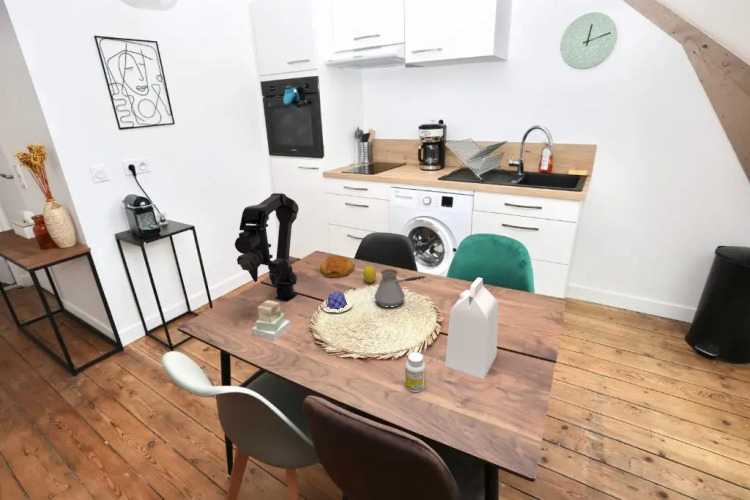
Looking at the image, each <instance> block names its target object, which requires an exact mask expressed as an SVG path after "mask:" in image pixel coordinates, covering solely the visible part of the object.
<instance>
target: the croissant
mask: <svg viewBox="0 0 750 500" xmlns="http://www.w3.org/2000/svg"><path fill="white" fill-rule="evenodd" d="M319 265H320V272H321V274H323V275H324V277H326V278H337V279H338V278H342V277H348V276H349V275H350V274H351V272H353V271H354V269H355V263H354V262H353V261H352V260H351V259H350V258H348V257H346V256H342V255H336V256H335V255H334V256H328V257H327V258H325V260H323V261H322V262H321V263H320V264H319Z"/></svg>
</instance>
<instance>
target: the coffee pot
mask: <svg viewBox="0 0 750 500" xmlns="http://www.w3.org/2000/svg"><path fill="white" fill-rule="evenodd" d="M398 274H399V272H398V270H396V269H393V268H387V269H386V268H385V269H383V270H381V271H380V275H381V276H382V277H381V281H380V283H379V285H378V287H377V290H376V292H375V295H374V299H375V301H376V302H377V303H378V305H380V306H382V305H383V306H382V307H384V306H388V307H391V306H396V305H398V306H399V305H400V304H402V302H404V300H405V297H406V296H405V292H404V291H403V288H402V287H401V284H400V283H402V282H412V281H417V280H421V279H422V281H423V282H424V283H426V282H427V281H428V278H427V276H425V275H421V276H420V275H419V276H413V277H408V278H402V279H398V278H397V275H398ZM425 278H426V281H425V280H424V279H425ZM388 307H387V308H388ZM396 307H397V306H396ZM391 308H392V307H391Z"/></svg>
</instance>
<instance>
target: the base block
mask: <svg viewBox="0 0 750 500" xmlns="http://www.w3.org/2000/svg"><path fill="white" fill-rule="evenodd" d="M290 328H292V323H291V320H288V319H285V322H284V323H283V324H282V325H281V327H280V328H279V329H278V330H277V331H276V332H272V331H264V330H257V327H256V325H255V326H253V327H252V328H251V330H252V334H253V336H255V337H259V338H263V339H266V340H269V341H273V342H275V341H276V340H278V338H280V337H281V336H282V335H283V334H284V333H286V332H287V331H288V330H289V329H290Z"/></svg>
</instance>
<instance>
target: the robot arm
mask: <svg viewBox="0 0 750 500" xmlns="http://www.w3.org/2000/svg"><path fill="white" fill-rule="evenodd" d="M273 212H275V217H276V219H277V221H278V222H279V224H278V234H277V235H278V236H277V246H276V257H275V258H276V259H275V258H274V257H273V254H270V253H271V252H270V248H271V247H272V243H269V240H268V235H267V233H268V232H267V227H269V224H268V223H267V222H268V221H269V219H270V214H271V213H273ZM298 213H299V204H298V203H297V201H295V200H294V199H292V198H291V197H289V196H287V195H286V193H282V192H277V193H275V192H274V193H271V194H270V196H269V197H266V199H264V200H263V201H262V202H260V203H259V204H253V205H249V206H246V207H245V208H243V211H242V214H241V219H240V224H239V231H241V232H239V233H238V237H237V238H236V239H235V241H234V247H235V250H236V251H237V252H239V253H240V254H241V255H238V256H237V259H236V261H237V265H240V268H241V269H242V271H247V272H248V273H249V274H250V277H251V278H252V280H253V283H256V282H258V278H259V277H258V276H259V275H258V274H259V272H258V271H259V270H258V269H259V267H261V265H263V266H266V267H267V268H268V270H269V271H268V275H269V276H268V277H269V280H270V283H271V284H272V285H273V287H274V288H276V296H275V297H274V298H275V299H276V300H279V301H280V300H281V301H284V302H289V301H290V300H292V299H294V297H296V296H298V293H296V292H295V289H294V285H296V284H297V280H298V279H297V278H298V277H297V274H295V272H293V266H292V264H291V262H290V252H291V251H290V250H291V249H290V248H291V238H292V229H293V226H292V225H293V223H294V222H295V221H296V219H297V217H298ZM273 258H274V260H271V259H273Z"/></svg>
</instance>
